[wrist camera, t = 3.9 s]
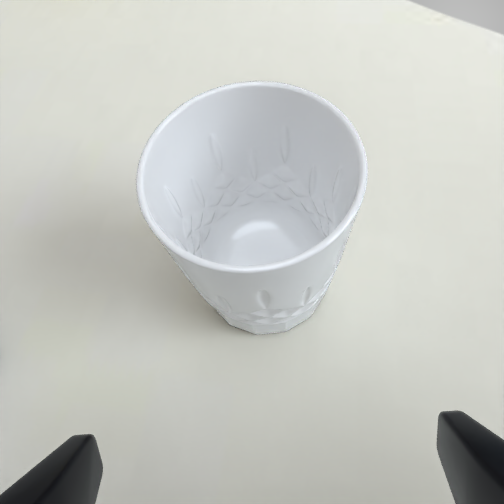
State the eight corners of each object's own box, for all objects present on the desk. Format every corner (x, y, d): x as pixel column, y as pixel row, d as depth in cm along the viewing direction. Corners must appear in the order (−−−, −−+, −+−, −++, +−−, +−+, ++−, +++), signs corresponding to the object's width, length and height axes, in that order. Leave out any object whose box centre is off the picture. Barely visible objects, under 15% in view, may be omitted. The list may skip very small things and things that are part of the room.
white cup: (210, 208, 26) (165, 75, 17) (342, 219, 25) (371, 84, 16) (181, 336, 22) (107, 258, 13) (332, 356, 21) (362, 285, 12)
